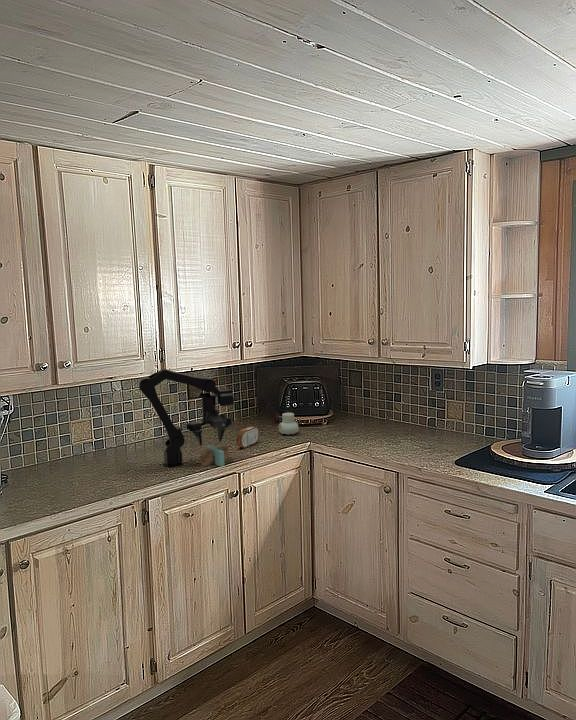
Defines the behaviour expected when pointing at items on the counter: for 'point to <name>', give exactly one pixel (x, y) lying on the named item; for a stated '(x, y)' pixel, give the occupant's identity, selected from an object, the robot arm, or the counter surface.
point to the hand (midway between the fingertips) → (210, 443)
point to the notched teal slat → (217, 455)
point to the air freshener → (288, 424)
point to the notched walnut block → (208, 456)
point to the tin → (247, 436)
